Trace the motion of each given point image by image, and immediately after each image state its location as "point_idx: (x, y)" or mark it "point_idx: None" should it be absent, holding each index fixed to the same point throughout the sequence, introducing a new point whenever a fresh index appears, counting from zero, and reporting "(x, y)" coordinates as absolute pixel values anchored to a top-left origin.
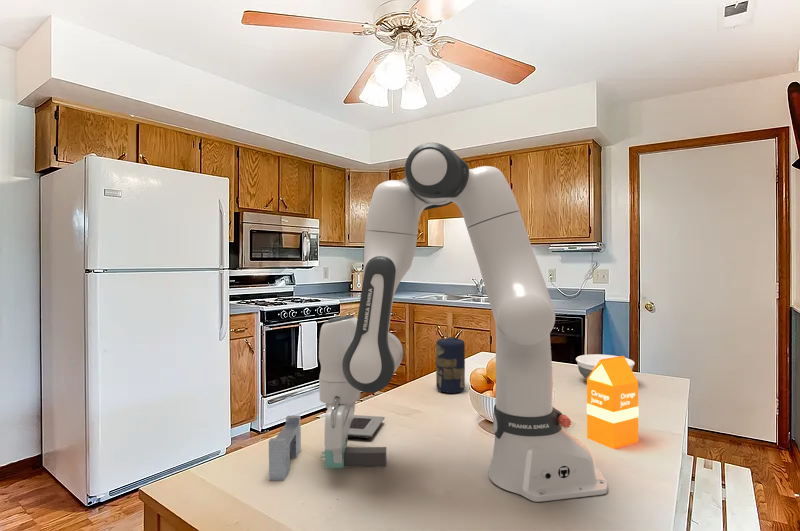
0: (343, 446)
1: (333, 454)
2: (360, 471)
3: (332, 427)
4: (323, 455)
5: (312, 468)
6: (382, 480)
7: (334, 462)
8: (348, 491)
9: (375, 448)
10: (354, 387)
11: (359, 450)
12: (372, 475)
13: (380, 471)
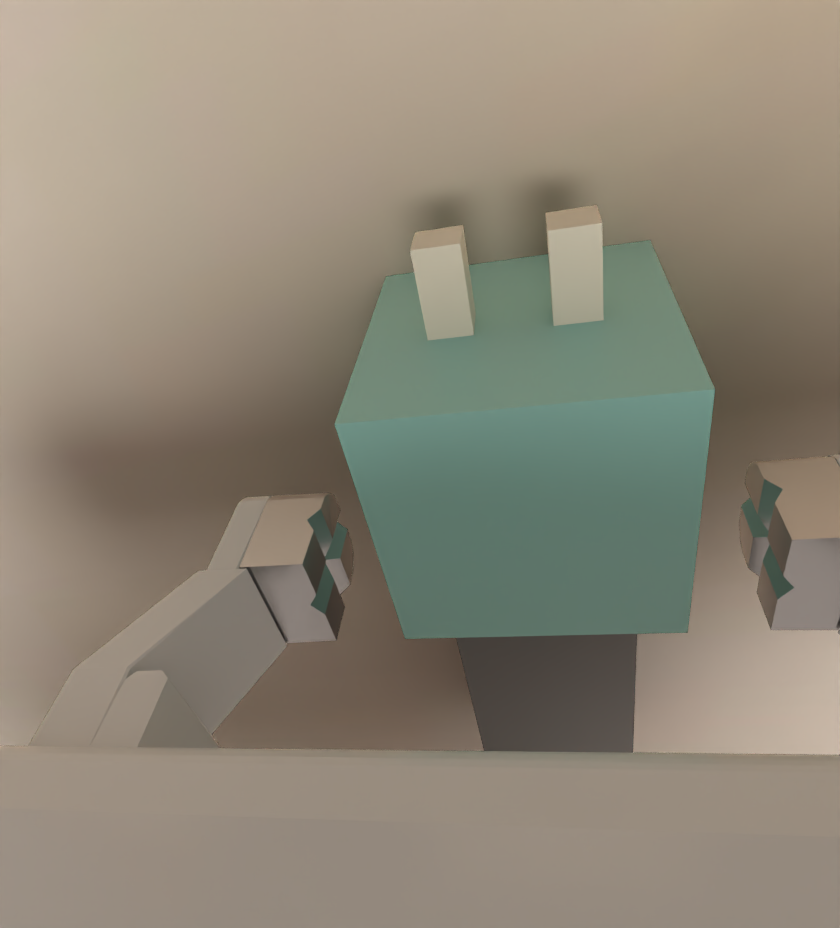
0: (501, 630)
1: (197, 574)
2: (387, 595)
3: (588, 855)
4: (425, 307)
5: (326, 93)
6: (293, 705)
7: (250, 498)
8: (53, 569)
9: None
10: None
11: (539, 695)
12: (343, 661)
13: (418, 692)
